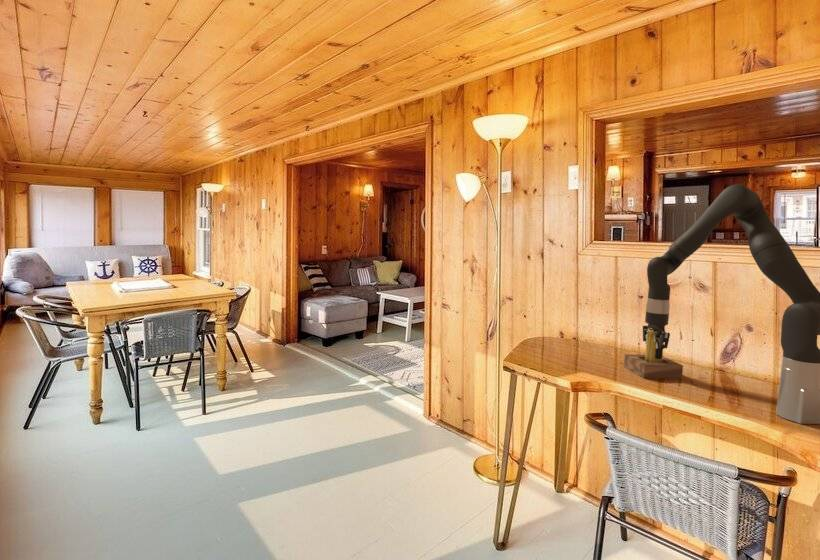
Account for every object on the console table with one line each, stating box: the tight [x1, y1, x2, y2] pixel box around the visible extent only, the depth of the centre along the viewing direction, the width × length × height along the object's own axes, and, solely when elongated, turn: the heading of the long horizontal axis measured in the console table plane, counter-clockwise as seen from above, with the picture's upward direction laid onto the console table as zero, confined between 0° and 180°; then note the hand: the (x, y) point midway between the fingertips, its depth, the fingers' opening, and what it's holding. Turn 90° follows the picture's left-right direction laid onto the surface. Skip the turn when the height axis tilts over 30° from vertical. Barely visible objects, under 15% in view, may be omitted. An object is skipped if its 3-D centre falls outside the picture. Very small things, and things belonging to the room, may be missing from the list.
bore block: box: [623, 353, 684, 380], centre depth 174 cm, size 14×14×5 cm
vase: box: [644, 329, 663, 363], centre depth 173 cm, size 6×6×14 cm
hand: (653, 356), depth 174 cm, fingers closed on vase, 5 cm apart
